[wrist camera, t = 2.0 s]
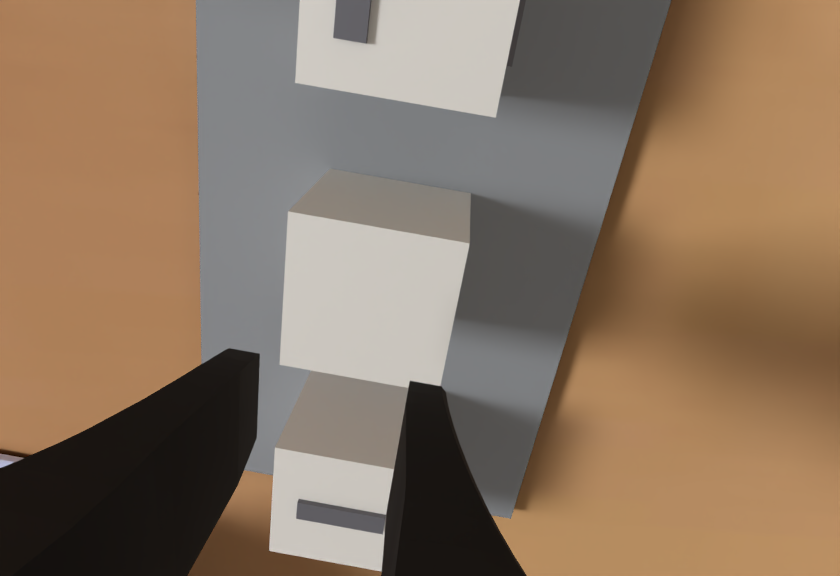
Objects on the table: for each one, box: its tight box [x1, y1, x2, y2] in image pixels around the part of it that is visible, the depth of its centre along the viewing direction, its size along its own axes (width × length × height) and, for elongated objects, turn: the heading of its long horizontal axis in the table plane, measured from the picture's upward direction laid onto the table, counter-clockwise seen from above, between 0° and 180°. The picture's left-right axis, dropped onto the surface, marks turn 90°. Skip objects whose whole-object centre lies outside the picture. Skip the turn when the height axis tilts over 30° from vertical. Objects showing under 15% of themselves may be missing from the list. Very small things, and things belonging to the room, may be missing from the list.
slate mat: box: [196, 0, 671, 519], centre depth 19 cm, size 22×13×1 cm, turn 171°
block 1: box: [269, 371, 408, 572], centre depth 20 cm, size 4×5×5 cm
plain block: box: [279, 169, 471, 388], centre depth 17 cm, size 4×4×4 cm
